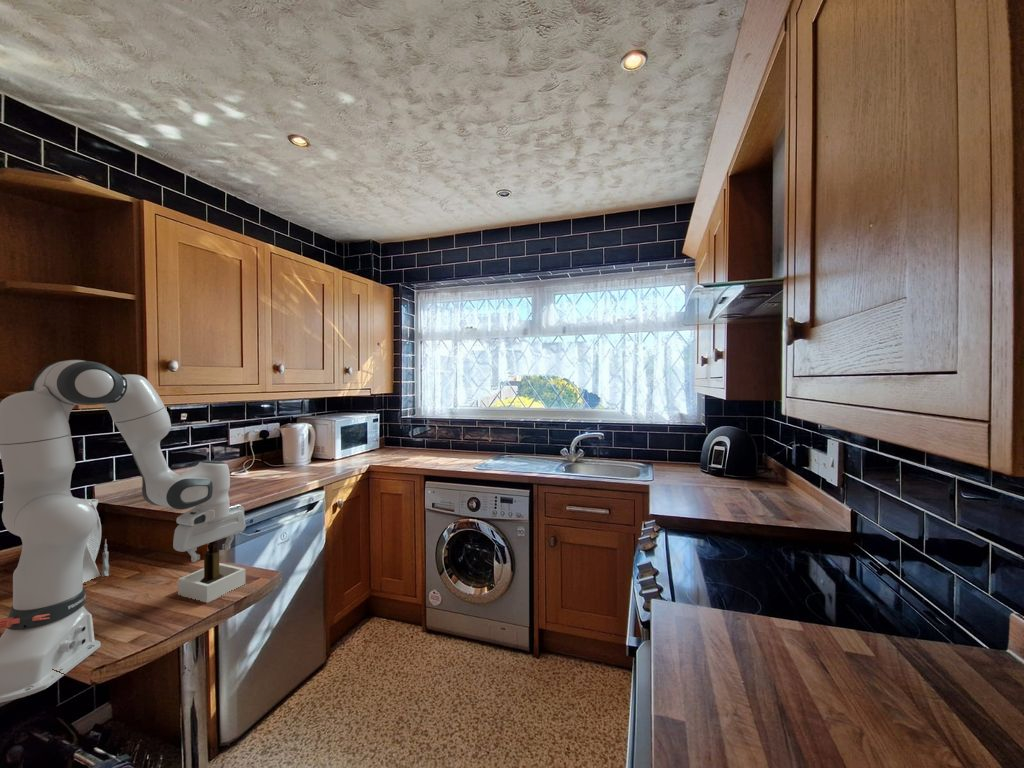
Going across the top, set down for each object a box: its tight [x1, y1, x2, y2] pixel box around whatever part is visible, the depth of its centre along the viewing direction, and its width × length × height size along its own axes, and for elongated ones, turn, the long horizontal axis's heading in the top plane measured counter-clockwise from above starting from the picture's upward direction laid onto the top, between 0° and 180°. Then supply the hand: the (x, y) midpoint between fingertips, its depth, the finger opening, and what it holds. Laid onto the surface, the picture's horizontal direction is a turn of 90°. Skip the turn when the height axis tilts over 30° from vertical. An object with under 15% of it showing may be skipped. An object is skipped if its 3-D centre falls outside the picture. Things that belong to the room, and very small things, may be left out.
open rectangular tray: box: [177, 562, 246, 604], centre depth 129 cm, size 12×13×5 cm
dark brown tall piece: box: [200, 541, 224, 584], centre depth 129 cm, size 7×6×18 cm
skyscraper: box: [81, 498, 111, 583], centre depth 134 cm, size 8×8×28 cm
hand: (211, 555), depth 128 cm, fingers open, 8 cm apart
